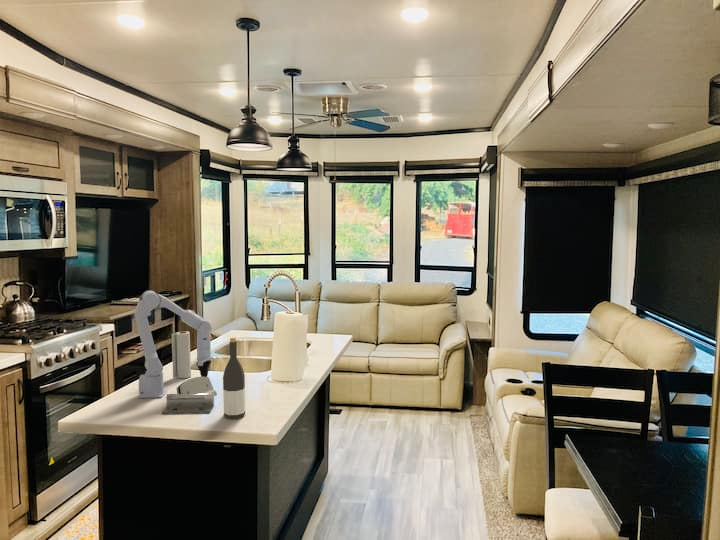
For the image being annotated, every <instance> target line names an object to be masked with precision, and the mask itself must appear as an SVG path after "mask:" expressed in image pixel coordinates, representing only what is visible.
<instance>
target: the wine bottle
mask: <svg viewBox="0 0 720 540" xmlns="http://www.w3.org/2000/svg"><path fill="white" fill-rule="evenodd" d="M237 342H238V341H237V338H236V337H234V336H233V337H230V338H229V360H228V361H227V364H226V366H225V368H224V371H223V376H222V390H223V391H222V392H223V393H222V394H223V395H222V396H223V416H224V418H226V419H228V420H238V419H241V417H242V418H244V417H245V415H246V384H245V383H246V381H245V377H246V375H245V372H244V368H243V366H242V364H241V362H240V361H239V358H238V356H237V355H238V352H237V350H238V349H237Z"/></svg>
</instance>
